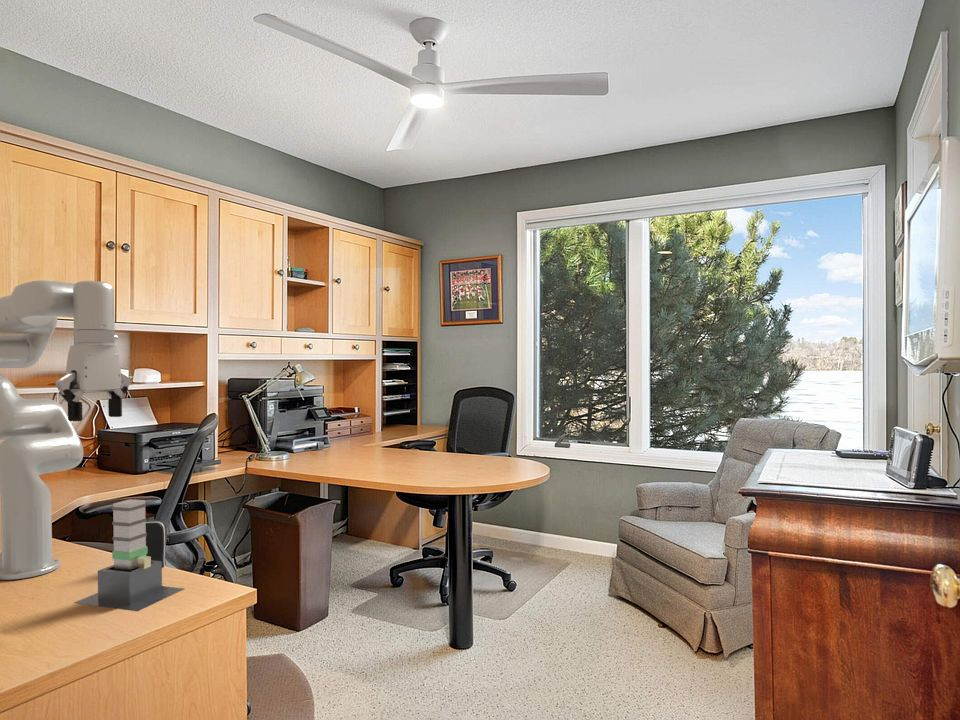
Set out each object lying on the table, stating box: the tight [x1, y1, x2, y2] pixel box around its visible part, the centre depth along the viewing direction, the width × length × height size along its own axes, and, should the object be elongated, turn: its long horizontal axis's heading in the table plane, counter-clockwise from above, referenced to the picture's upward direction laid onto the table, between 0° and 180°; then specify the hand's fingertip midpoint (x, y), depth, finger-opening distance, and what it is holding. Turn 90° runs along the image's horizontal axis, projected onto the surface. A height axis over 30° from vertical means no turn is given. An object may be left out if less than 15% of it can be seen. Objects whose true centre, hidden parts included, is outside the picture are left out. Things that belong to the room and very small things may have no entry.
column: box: [111, 498, 148, 570], centre depth 126 cm, size 4×4×13 cm
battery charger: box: [146, 519, 168, 569], centre depth 145 cm, size 7×4×11 cm, turn 99°
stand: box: [73, 556, 185, 612], centre depth 126 cm, size 16×12×9 cm
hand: (95, 418), depth 134 cm, fingers open, 9 cm apart
